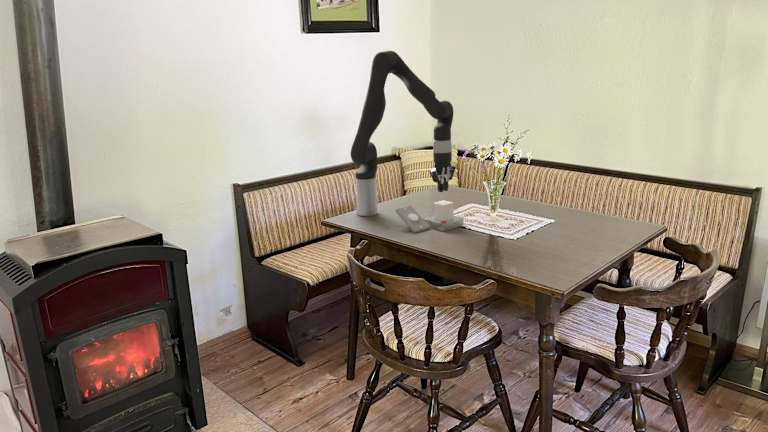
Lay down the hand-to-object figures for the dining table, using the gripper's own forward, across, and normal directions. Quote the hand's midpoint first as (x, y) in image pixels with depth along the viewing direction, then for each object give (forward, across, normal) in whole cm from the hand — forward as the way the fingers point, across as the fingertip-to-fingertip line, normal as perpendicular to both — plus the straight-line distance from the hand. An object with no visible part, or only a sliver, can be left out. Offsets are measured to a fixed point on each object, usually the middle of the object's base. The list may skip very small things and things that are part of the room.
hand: (442, 191), depth 246 cm
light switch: (+15, +11, -7) cm, 20 cm away
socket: (+15, 0, 0) cm, 15 cm away
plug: (+14, 0, 0) cm, 14 cm away
